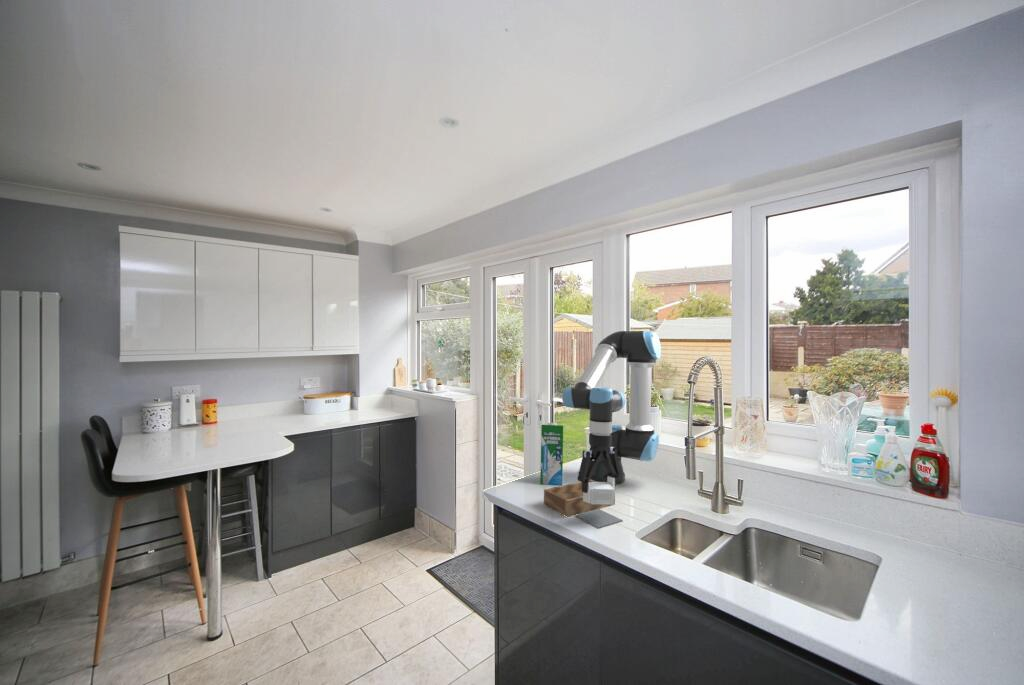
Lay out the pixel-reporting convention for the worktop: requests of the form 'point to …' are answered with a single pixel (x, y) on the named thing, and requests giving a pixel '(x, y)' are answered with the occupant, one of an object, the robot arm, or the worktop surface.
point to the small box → (602, 493)
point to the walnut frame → (569, 499)
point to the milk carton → (551, 454)
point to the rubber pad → (599, 518)
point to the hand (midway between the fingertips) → (599, 499)
